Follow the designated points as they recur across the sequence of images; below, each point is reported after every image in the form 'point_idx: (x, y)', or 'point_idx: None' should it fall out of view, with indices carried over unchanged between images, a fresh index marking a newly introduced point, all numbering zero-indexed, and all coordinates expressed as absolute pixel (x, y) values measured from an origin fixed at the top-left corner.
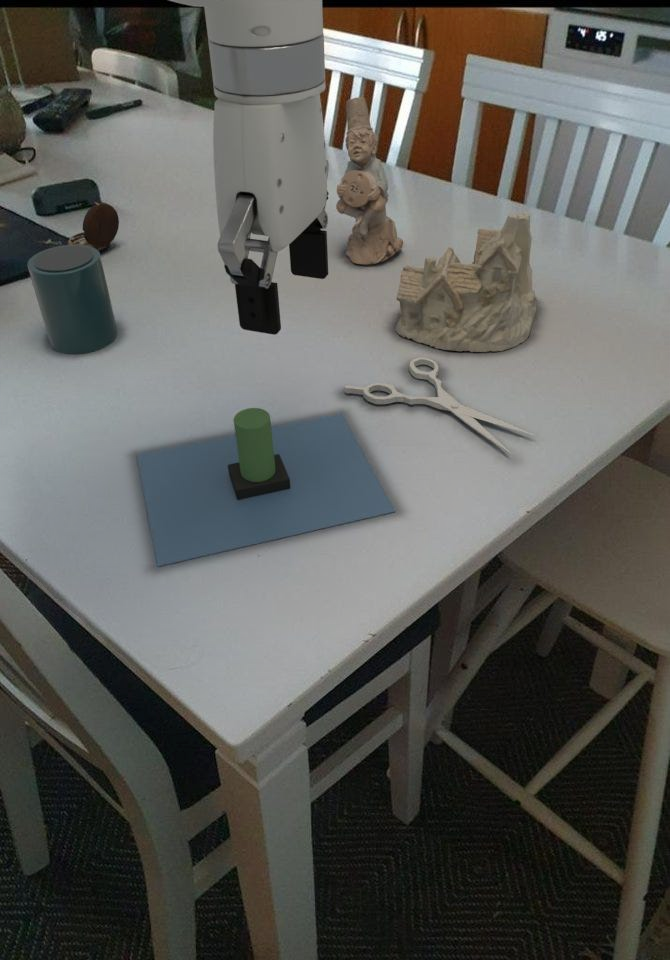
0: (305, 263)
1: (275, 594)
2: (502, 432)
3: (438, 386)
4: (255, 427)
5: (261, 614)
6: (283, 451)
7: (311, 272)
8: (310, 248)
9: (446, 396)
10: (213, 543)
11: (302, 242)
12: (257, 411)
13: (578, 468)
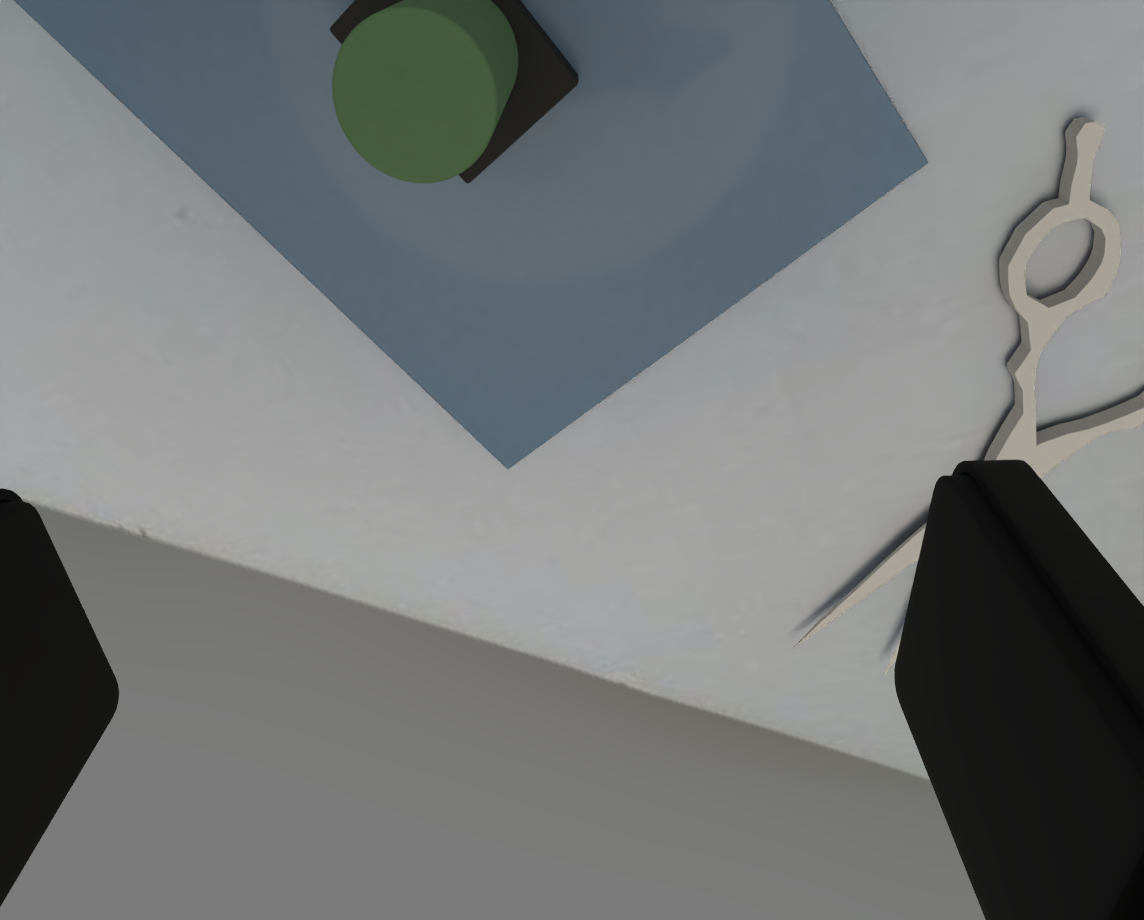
0: (959, 652)
1: (99, 316)
2: (906, 596)
3: (1105, 426)
4: (360, 152)
5: (27, 314)
6: (646, 54)
7: (922, 636)
8: (1001, 825)
9: (1045, 461)
10: (131, 57)
11: (1053, 814)
12: (470, 99)
13: (797, 735)
